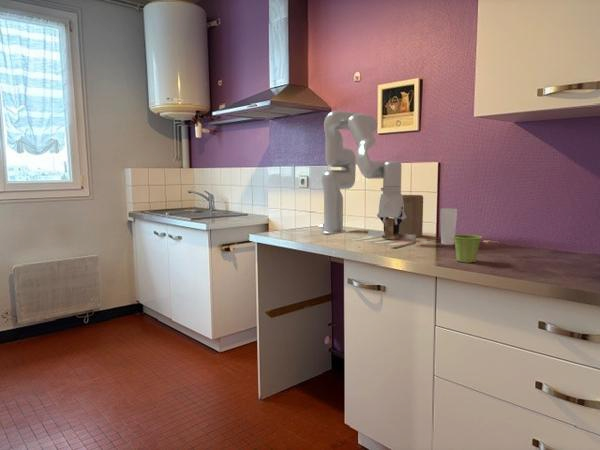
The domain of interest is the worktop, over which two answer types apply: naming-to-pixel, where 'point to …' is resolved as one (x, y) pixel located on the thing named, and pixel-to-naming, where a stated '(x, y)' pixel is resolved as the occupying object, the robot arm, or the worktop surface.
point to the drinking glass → (448, 225)
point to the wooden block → (412, 215)
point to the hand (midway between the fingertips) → (391, 232)
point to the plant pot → (466, 247)
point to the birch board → (377, 238)
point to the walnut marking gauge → (390, 229)
